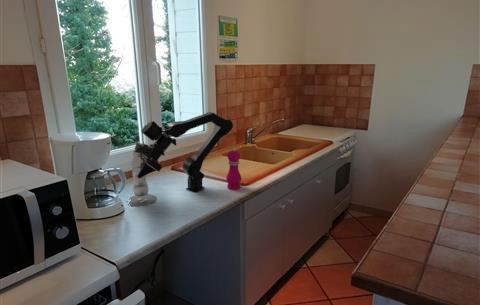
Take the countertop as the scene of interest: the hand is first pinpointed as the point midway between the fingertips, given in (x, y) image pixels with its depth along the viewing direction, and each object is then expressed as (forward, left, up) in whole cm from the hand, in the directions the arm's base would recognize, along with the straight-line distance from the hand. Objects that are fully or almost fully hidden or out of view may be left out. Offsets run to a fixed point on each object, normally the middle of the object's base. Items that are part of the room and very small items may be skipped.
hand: (136, 175), depth 136 cm
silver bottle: (-1, -1, -10) cm, 10 cm away
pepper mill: (-26, -36, -12) cm, 46 cm away
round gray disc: (-1, -1, -12) cm, 12 cm away
